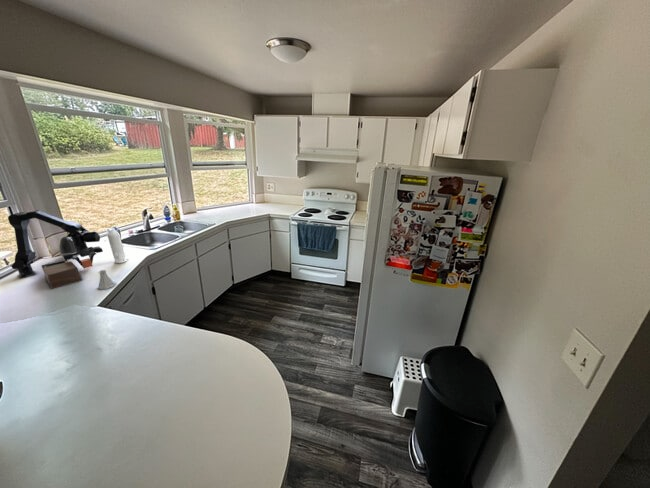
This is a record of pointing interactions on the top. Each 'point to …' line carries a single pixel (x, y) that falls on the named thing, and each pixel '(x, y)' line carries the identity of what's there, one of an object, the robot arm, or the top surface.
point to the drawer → (54, 263)
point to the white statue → (116, 246)
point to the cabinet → (61, 274)
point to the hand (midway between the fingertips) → (86, 264)
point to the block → (86, 263)
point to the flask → (105, 280)
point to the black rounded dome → (66, 245)
